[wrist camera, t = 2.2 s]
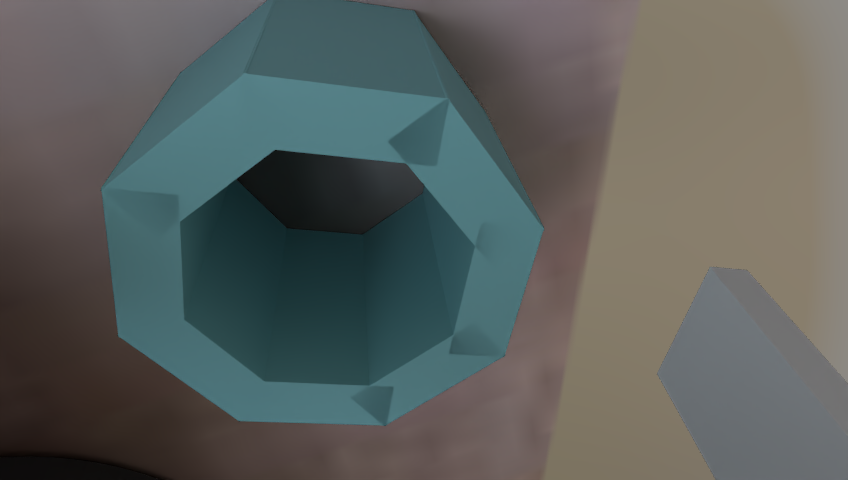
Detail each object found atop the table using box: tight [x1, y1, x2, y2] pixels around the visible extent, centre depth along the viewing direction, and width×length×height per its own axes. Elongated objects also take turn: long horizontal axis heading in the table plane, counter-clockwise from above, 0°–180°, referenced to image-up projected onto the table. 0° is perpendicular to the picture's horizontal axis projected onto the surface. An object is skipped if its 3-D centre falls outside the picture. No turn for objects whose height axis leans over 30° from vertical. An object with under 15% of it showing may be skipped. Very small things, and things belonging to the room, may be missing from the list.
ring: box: [101, 0, 544, 426], centre depth 14 cm, size 8×8×6 cm
